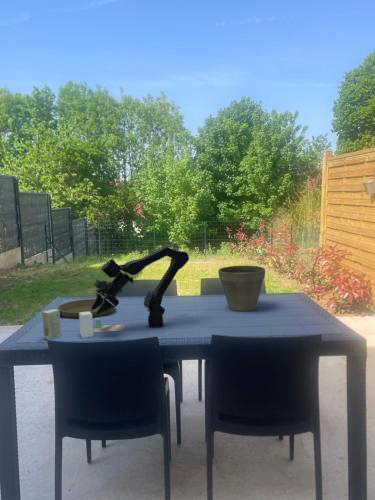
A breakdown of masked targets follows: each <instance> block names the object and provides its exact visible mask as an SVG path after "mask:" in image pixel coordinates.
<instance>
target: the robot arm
mask: <svg viewBox="0 0 375 500" xmlns="http://www.w3.org/2000/svg"><path fill="white" fill-rule="evenodd" d="M165 257H169V258H170V263H169V266H168V268H167V270H166V271H165V273H164V274H163V276H162V278H161V279H160V281H159V282H158V284H157V286H156V287H155V289H154V290H153V291H152V292H151V291H148V292H147V294H146V295H145V297H144V298H143V299H144V301H143V306H144V307H145V309H147V311H148V312H149V313H148V316H147V319H148V320H147V323H148V327H149V328H162V327H164V324H165V323H164V314H165V311H166V309H165V308H164V307H162V305H161V304H162V302H163V298H164V297H163V296H164V294H165V293H166V292H167V289H168V287H169V286H170V284H171V283H172V281H173V280H174V278H175V277H176V276H177V273H178V271H180V270H181V269H182V268H183V267H185V265H186V264H187V263H188V262H189V260H190V256H189V253H188V252H187V251H181V250H175V249H173V248H170V247H168V246H162V247H161V248H159V249H157V250H155V251H153V252H151V253H149V254H146V255H145V256H142V257H141V258H138V259H132V260H129V261H125V263H124V264H120V265H119V264H118V263H117V262H116V261H115V260H114V259H113V258H110V260H108V261H106V263H105V262H104V263H103V265H102V267H101V268H100V270H101V271H102V272H103V273H104V274H105V275H106V276H108V278H110V279H111V278H113V280H112V281H106V280H105V279H104V280H99V279H96V280H95V282H94V285H93V287H95V288H97V289H96V290H95V295H96V296H95V299H96V300H95V302H94V304H93V306H92V308H91V309H92V310H94V309H96V308H97V307H99V306H100V305H101V306H100V308H99V309H98V311H97V312H96V313H97V314H100V313H102V312H104V311H106V310H108V309H110V308H113V307H114V306H116V307H117V306H118V305H119V304H120V301H119V299H118V298H117V297H116V296H118V294H119V293H120V294H121V293H122V292H123V289H124V288H125V286H126V285H127V284H128V283H130V284H134V277H133V276H136V275H138V274H139V273H140V272H142V271H143V270H144V269H145V268H146V267H147V266H149V265H151V264H153V263H155V262H157V261H159V260H162V259H163V258H165ZM123 272H124V273H123ZM113 305H114V306H113Z"/></svg>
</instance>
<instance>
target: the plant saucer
mask: <svg viewBox="0 0 375 500" xmlns="http://www.w3.org/2000/svg"><path fill="white" fill-rule="evenodd" d="M95 300H96V298H86V299H78V300H73V301H68V302H64V303H62V304H60V305H58V307H57V310H59V312H60V314H61V315H62V316H63V317H64V318H66V319H79V313H80V312H88V311H89V312H91V313H92V318H101V317H105V316H107V315H110V314H112V312H113V310H115V308H116V307H117V306H114V305H113V306H114V307H113V308H110V309H108V310H106V311H104V312H102V313H100V314H97V313H96V312H97V311H98V309H99V308H100V306H101V305H100V306H99V307H97V308H96V309H94V310H92V309H91V308H92V306H93V304H94V302H95Z"/></svg>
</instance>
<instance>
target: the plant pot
mask: <svg viewBox="0 0 375 500" xmlns="http://www.w3.org/2000/svg"><path fill="white" fill-rule="evenodd" d="M265 277H266V268H264V267H263V266H258V265H257V266H256V265H230V266H224V267H221V268H219V269H218V279H219V280H220V281H221V285H222V288H223V289H222V290H223V292H224V296H225V300H226V302H227V306H228V308H229V309H230V310H231V311H235V312H250V311H253V310H256V309H257V307H258V302H259V298H260V295H261V290H262V285H263V283H264V282H263V281H264V279H265Z"/></svg>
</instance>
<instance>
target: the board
mask: <svg viewBox="0 0 375 500" xmlns="http://www.w3.org/2000/svg"><path fill="white" fill-rule="evenodd" d="M101 326H102V327H101V328H96V325H94V326H93V333H97V332H100V333H101V332H102V333H103V332H104V333H105V332H122V331H123V330H124V328H125V326H126V325H125V324H107V325H102V324H101Z"/></svg>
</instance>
